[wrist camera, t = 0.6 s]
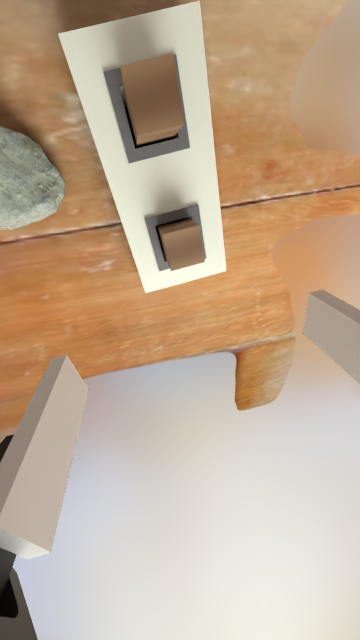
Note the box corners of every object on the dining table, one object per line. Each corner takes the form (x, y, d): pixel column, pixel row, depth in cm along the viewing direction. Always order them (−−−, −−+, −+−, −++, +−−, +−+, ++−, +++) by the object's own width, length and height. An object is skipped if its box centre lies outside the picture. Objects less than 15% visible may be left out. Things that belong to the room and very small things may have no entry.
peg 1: (123, 94, 21) (120, 65, 16) (164, 84, 21) (173, 52, 16) (137, 146, 23) (137, 135, 18) (173, 137, 23) (183, 124, 18)
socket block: (75, 67, 23) (56, 30, 17) (185, 41, 23) (201, -3, 18) (144, 278, 36) (145, 294, 30) (213, 259, 36) (227, 271, 31)
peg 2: (157, 225, 27) (162, 234, 22) (187, 217, 27) (199, 224, 22) (165, 256, 29) (171, 271, 24) (193, 248, 30) (205, 261, 25)
